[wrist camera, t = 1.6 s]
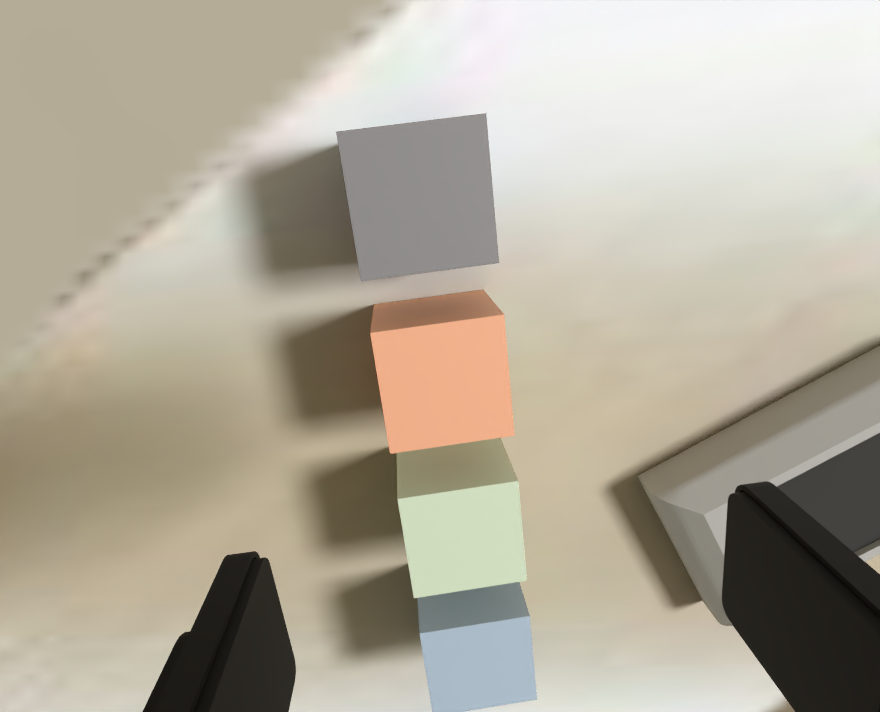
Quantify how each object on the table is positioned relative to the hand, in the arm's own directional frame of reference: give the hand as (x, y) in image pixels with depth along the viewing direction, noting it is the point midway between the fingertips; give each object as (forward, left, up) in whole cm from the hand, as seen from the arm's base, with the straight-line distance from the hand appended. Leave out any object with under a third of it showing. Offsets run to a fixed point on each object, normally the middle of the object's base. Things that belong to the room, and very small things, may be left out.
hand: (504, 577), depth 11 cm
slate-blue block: (-10, -10, -16) cm, 21 cm away
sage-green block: (-5, -5, -16) cm, 17 cm away
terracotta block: (0, 0, -16) cm, 16 cm away
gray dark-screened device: (+6, -20, -16) cm, 26 cm away
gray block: (+5, +5, -16) cm, 17 cm away
